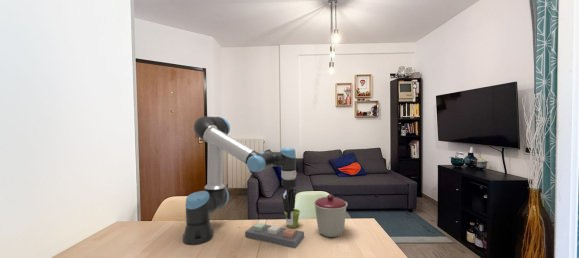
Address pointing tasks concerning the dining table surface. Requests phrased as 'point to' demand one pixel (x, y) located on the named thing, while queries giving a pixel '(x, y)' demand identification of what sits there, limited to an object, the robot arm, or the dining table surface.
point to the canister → (330, 215)
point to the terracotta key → (289, 233)
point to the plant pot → (294, 218)
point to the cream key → (274, 229)
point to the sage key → (259, 227)
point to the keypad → (275, 237)
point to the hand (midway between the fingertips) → (290, 224)
